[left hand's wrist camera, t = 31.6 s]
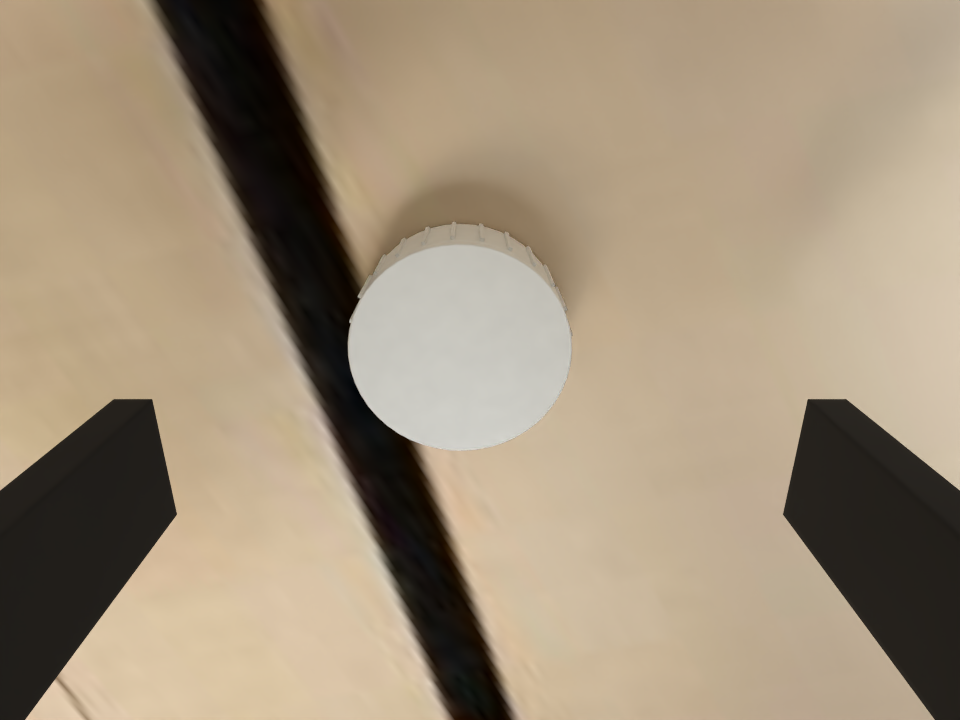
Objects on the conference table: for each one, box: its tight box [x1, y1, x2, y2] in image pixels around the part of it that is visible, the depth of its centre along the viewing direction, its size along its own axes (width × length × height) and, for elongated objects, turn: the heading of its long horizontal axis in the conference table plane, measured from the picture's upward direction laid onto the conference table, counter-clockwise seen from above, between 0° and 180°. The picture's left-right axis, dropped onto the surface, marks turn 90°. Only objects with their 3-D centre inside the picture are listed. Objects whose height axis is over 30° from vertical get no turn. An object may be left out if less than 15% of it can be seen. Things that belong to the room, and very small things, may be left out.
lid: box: [348, 222, 572, 451], centre depth 17 cm, size 6×6×2 cm
